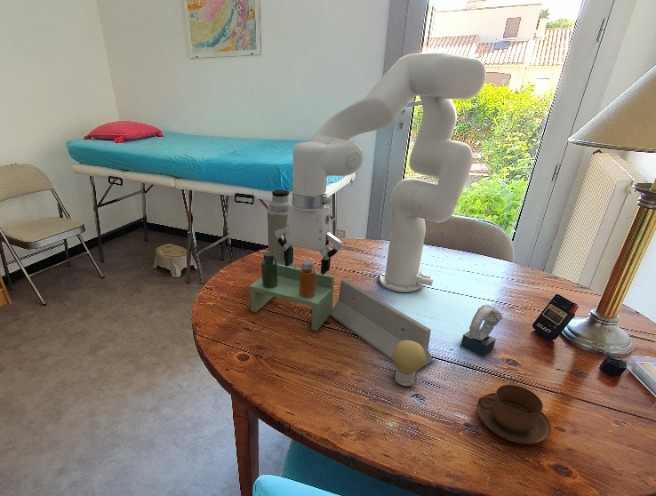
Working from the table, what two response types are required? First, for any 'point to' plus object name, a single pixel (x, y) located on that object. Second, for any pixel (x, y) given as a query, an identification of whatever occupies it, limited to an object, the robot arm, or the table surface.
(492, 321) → the watch
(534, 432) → the cup and saucer
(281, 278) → the spice rack
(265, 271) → the green bottle
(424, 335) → the barrier
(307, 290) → the amber bottle
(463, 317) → the table surface
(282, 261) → the thermos bottle
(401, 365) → the light bulb
